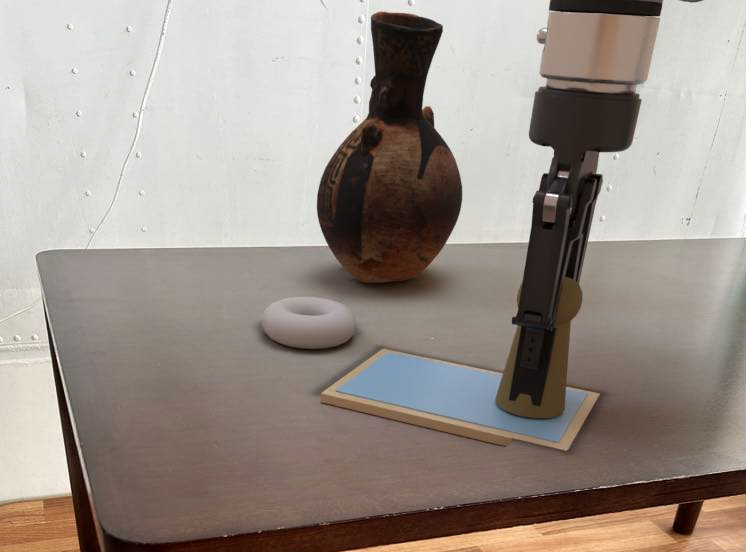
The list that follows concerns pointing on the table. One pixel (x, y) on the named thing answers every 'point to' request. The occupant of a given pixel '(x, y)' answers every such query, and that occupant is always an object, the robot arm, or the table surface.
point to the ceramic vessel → (392, 165)
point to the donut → (309, 322)
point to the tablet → (451, 400)
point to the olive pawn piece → (558, 365)
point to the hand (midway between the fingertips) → (532, 391)
